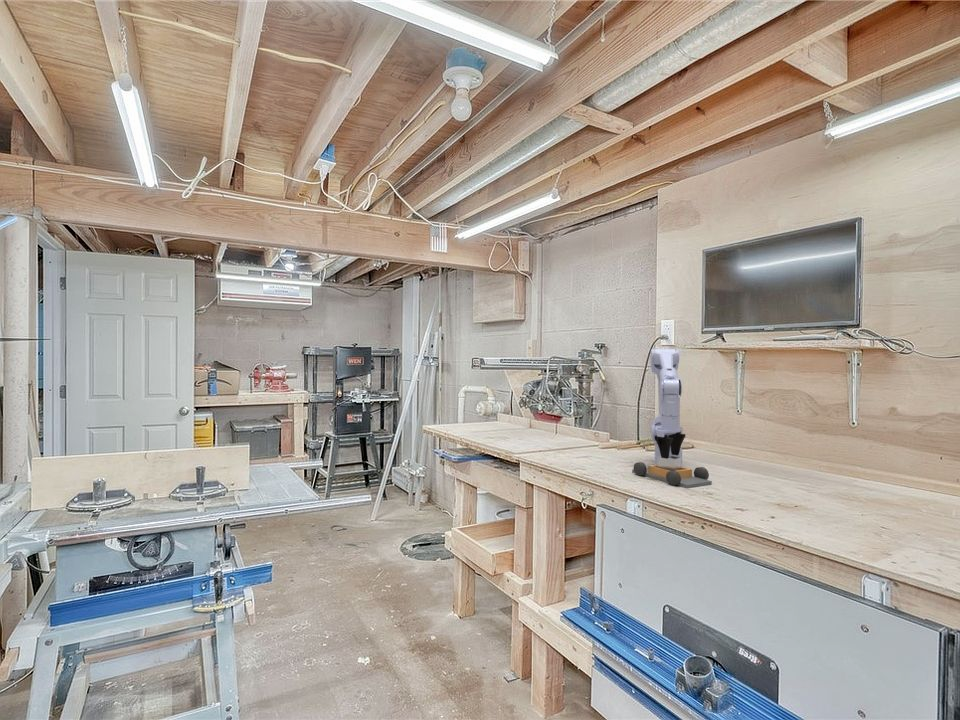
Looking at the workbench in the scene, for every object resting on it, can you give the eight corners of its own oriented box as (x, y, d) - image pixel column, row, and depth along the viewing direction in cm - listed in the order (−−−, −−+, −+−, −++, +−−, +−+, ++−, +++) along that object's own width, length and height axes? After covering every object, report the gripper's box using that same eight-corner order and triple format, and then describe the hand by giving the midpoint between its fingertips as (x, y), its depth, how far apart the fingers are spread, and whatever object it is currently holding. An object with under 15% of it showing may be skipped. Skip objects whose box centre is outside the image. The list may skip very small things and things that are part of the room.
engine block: (663, 472, 164) (663, 454, 164) (680, 475, 159) (680, 457, 159) (657, 474, 161) (657, 456, 161) (675, 477, 157) (675, 459, 157)
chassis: (658, 469, 173) (658, 456, 173) (715, 483, 153) (715, 469, 153) (628, 472, 167) (628, 460, 167) (683, 488, 147) (683, 474, 147)
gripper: (668, 412, 168) (668, 451, 168) (648, 416, 158) (648, 457, 158) (688, 414, 163) (688, 454, 163) (669, 418, 153) (669, 461, 153)
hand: (670, 456), depth 160 cm, fingers open, 7 cm apart
